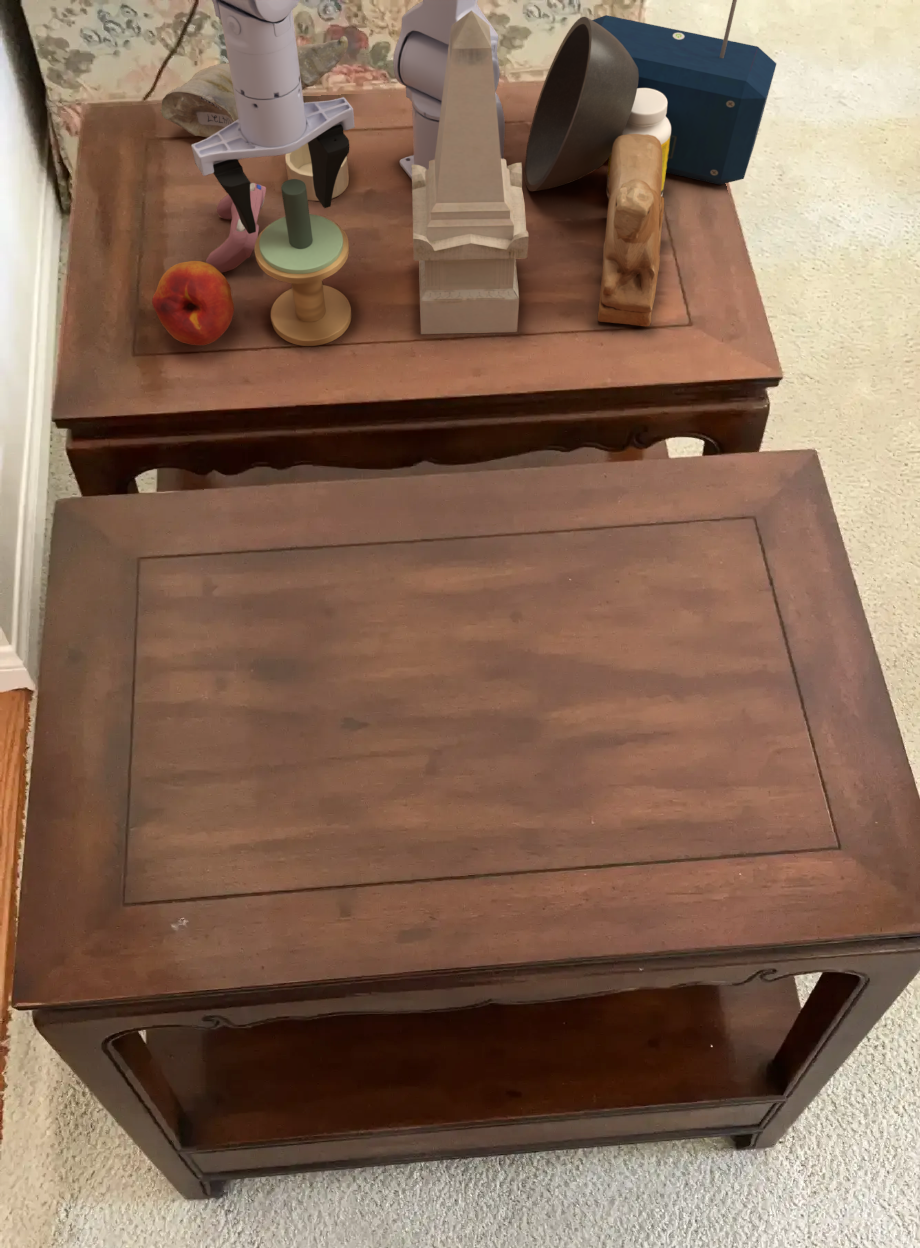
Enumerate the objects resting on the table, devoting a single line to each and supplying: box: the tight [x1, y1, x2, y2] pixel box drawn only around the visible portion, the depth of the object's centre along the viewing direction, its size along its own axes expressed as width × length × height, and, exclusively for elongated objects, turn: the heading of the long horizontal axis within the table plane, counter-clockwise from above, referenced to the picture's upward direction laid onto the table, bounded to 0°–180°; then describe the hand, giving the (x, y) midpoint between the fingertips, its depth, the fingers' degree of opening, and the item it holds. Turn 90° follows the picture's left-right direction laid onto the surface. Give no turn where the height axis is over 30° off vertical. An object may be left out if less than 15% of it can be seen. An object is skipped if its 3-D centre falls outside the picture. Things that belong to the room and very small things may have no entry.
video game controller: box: [205, 182, 267, 273], centre depth 118 cm, size 10×5×7 cm, turn 179°
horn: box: [160, 35, 349, 139], centre depth 128 cm, size 19×12×10 cm
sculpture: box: [597, 134, 665, 327], centre depth 112 cm, size 6×17×15 cm, turn 172°
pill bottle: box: [605, 88, 671, 199], centre depth 121 cm, size 6×6×11 cm
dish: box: [284, 143, 350, 202], centre depth 125 cm, size 7×7×3 cm
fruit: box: [151, 260, 235, 346], centre depth 111 cm, size 8×8×8 cm
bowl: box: [524, 16, 639, 192], centre depth 117 cm, size 12×22×6 cm
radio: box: [591, 0, 777, 186], centre depth 121 cm, size 21×9×20 cm, turn 72°
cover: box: [259, 179, 343, 274], centre depth 105 cm, size 8×8×6 cm
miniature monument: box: [411, 10, 530, 335], centre depth 104 cm, size 10×10×30 cm
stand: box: [254, 217, 352, 347], centre depth 111 cm, size 9×9×9 cm
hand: (286, 213), depth 108 cm, fingers open, 7 cm apart
